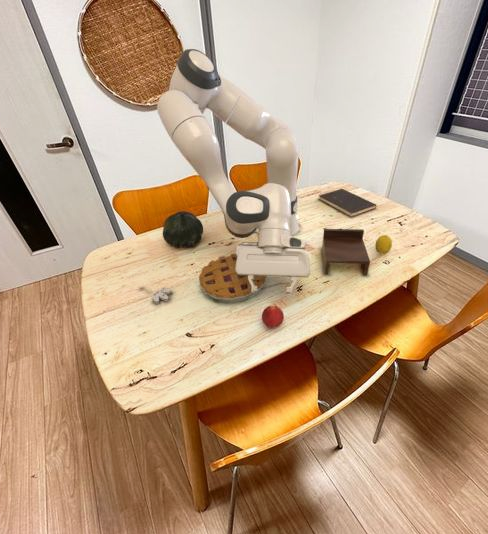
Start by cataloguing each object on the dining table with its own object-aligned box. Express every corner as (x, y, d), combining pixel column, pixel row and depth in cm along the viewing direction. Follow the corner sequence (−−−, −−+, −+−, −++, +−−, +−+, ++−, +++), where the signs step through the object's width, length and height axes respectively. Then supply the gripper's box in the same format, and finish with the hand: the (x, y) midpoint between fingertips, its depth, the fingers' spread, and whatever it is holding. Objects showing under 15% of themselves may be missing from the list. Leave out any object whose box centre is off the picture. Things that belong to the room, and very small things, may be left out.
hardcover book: (351, 217, 124) (351, 212, 123) (318, 199, 140) (318, 195, 138) (375, 208, 131) (376, 204, 129) (342, 192, 146) (342, 188, 145)
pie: (194, 272, 95) (191, 261, 92) (254, 256, 102) (253, 245, 99) (209, 316, 80) (206, 303, 77) (278, 293, 86) (278, 281, 83)
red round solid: (268, 337, 73) (267, 316, 68) (259, 322, 77) (257, 302, 72) (287, 329, 75) (287, 308, 70) (277, 315, 79) (277, 294, 74)
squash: (165, 221, 113) (156, 206, 99) (202, 218, 116) (199, 203, 102) (168, 255, 111) (160, 244, 96) (206, 250, 114) (204, 239, 100)
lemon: (389, 259, 99) (395, 240, 94) (373, 257, 100) (378, 238, 95) (388, 250, 104) (393, 231, 99) (372, 248, 105) (377, 230, 100)
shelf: (321, 249, 105) (323, 228, 99) (359, 250, 104) (363, 229, 99) (324, 274, 93) (327, 252, 88) (366, 275, 92) (372, 253, 87)
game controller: (165, 305, 83) (163, 299, 82) (131, 301, 85) (128, 295, 84) (174, 292, 88) (172, 286, 86) (141, 289, 89) (139, 282, 88)
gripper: (234, 239, 74) (231, 291, 72) (311, 241, 73) (309, 294, 71) (239, 244, 80) (236, 292, 79) (310, 246, 79) (308, 294, 77)
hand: (271, 293), depth 75 cm, fingers open, 8 cm apart
